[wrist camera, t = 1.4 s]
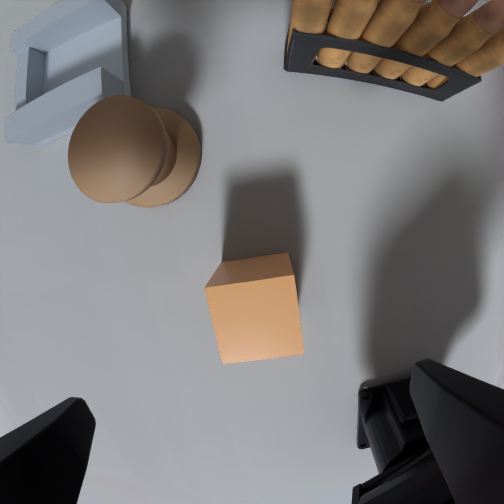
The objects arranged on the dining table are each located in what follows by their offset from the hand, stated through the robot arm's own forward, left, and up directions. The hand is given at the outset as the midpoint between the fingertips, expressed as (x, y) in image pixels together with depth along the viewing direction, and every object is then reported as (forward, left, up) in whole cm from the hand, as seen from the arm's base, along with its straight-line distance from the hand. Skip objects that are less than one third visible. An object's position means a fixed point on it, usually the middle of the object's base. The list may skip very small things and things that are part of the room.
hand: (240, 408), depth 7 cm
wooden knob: (+8, +5, -12) cm, 15 cm away
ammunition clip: (+12, -9, -12) cm, 19 cm away
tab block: (-1, 0, -12) cm, 12 cm away
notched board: (+16, +10, -12) cm, 23 cm away
